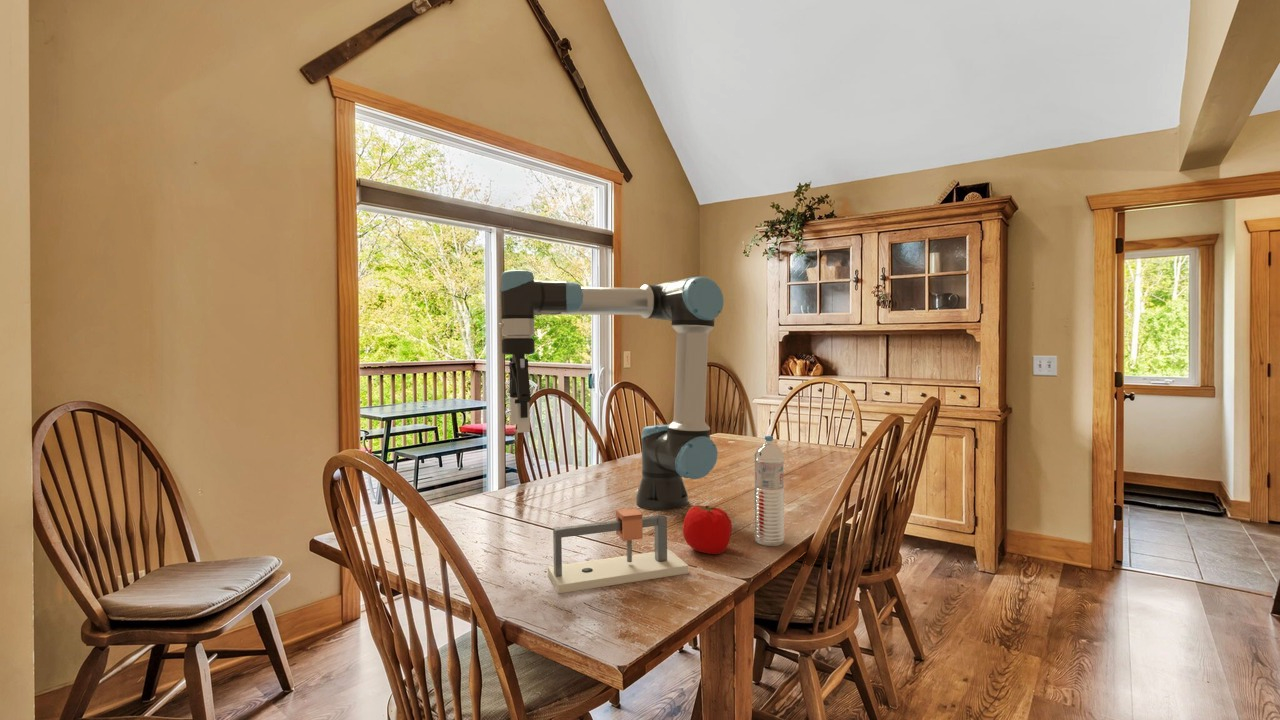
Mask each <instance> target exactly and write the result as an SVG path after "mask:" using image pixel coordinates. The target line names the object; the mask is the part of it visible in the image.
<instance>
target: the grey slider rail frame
mask: <svg viewBox="0 0 1280 720" xmlns="http://www.w3.org/2000/svg"><path fill="white" fill-rule="evenodd" d="M649 527H654V552H655V559H656V560H657V561H658V562H661V561H667V550H668V517H667V516H665V515H664V514H659V515H658V514H657V515H656V514H655V515H651V516H642V529H644V528H649ZM552 529H553V530H552V537H553V540H552V541H553V542H552V543H553V548H552V549H553V566H554V575H555V576H556V577H560V576H562V565H563V559H562V558H563V553H562V551H563V550H562V547H563V546H562V538H569V537H576V536H577V537H578V536H585V535H586V536H587V535H594V534H601V533H603V534H604V533H608V532H610V533H611V532H616V531H619V530H622V520H616V519H615V520H610V521H602V522H601V521H600V522H591V523H584V524H575V525H566V526H565V525H564V526H555V527H552Z"/></svg>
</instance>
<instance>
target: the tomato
mask: <svg viewBox="0 0 1280 720" xmlns="http://www.w3.org/2000/svg"><path fill="white" fill-rule="evenodd" d="M732 526H733V525H732V520H731V519H730V517H729V515H728V514H727V512H725V511H724V510H723V509H722V508H719V505H717V506H714V507H711V506H710V505H694V506H692V507H690V508H689V510H688V511H687V512H686V515H685V516H684V519H683V527H682V534H683V539H684V540H685V543H687V545H689V547H690V548H692V549H693V550H695V551H697V552H700V553H705V554H708V555H719V554H721V553H723V552H725V550H726V549H727V547H729V544H730V540H731V534H732V529H733V527H732Z"/></svg>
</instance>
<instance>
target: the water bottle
mask: <svg viewBox="0 0 1280 720" xmlns="http://www.w3.org/2000/svg"><path fill="white" fill-rule="evenodd" d="M764 441H765V442H764V443H763V444H761V445H760V446H759V447H758V448H757V449H756V451H755V452H754V455H753V459H754V501H753V502H754V541H755V543H757V544H758V545H761V546H763V547H778V546H781V545H783V544H784V540H785V488H784V486H785V485H784V481H785V480H784V479H785V478H784V472H785V471H784V461H785V454H784V453H783V451H782V450H781V448H780V447H779V446H778V445H777V444H775V443H774V436H772V435H765V437H764Z"/></svg>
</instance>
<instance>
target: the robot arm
mask: <svg viewBox="0 0 1280 720" xmlns="http://www.w3.org/2000/svg"><path fill="white" fill-rule="evenodd" d="M499 292H500V307H501V308H500V312H501V322H499V324H498V327H499V328H501V336H503V337H504V338H502V339H501V353H502V355H508V356H509V355H511V356H512V357H509V363H508V367H509V390H508V394H509V397H510V399H509V400H510V403H509V404H510V405H509V406H510V407H509V408H510V425H514V426H515V425H516V427H517V429H516V431H517V434H518V433H519V434H520V433H521V434H522V433H530V432H531V420H530V418H531V413H530V411H531V409H530V407H531V406H530V402H531V401H532V397H531V389H530V387H531V386H530V385H531V384H530V374H529V359H528V358H526V355H533V354H535V352H536V351H535V348H536V347H535V346H536V345H535V343H536V342H535V339H534V338H533V337H534V336H535V335H536V333H535V329H536V328H535V316H545V315H550V316H551V315H552V316H554V315H555V316H556V315H576V316H577V315H589V316H590V315H593V316H594V315H595V316H596V315H600V316H602V315H603V316H604V315H605V316H607V315H609V316H610V315H614V316H616V315H617V316H618V315H619V316H620V315H621V316H623V315H624V316H625V315H626V316H628V315H630V316H631V315H632V316H636V315H637V316H638V315H639V316H640V317H641V318H642V319H651V320H652V319H654V320H664V321H670V322H671V328H672V329H673V330H674V331H675V333H676V348H675V349H676V350H675V371H674V373H675V374H674V394H673V395H674V397H673V398H674V399H673V401H674V402H673V420H672V422H670V423H669V424H656V425H648V426H647V425H646V426H644V427H643V428H642V430H641V436H640V437H641V438H640V441H641V480H640V482H639V486H638V490H637V492H636V496H635V497H636V499H635V501H636V505H637V506H639V507H640V508H642V509H643V508H644V509H648V510H655V511H659V510H661V511H663V510H664V511H666V510H668V511H669V510H676V509H681V508H684V507H686V506H687V505H688V504H689V496H688V491H687V489H686V486H685V483H684V480H683V478H685V479H691V480H699V479H702V478H705V477H706V476H708V475H709V473H710V472H711V471H713V469H714V468H715V467H716V464H717V461H718V455H719V454H718V448H717V444H715V443H714V442H715V441H713V440H712V439H711V427H710V426H709V425H708V423H706V407H707V406H706V402H707V401H706V399H707V377H708V376H707V375H708V355H709V354H708V352H709V350H708V348H709V334H710V332H712V331H713V329H715V319H716V318H717V317H718V316H719V315H720V314H721V313H722V311H723V308H724V303H725V301H724V294H723V291H722V290H721V287H720V286H719V285H718V284H717V283H716V281H714V280H713V279H711V278H709V277H707V276H691V277H690V276H689V277H687V278H682V279H677V280H676V279H675V280H672V281H667V282H666V281H665V282H662V283H656V284H643V285H641V286H640V287H609V286H608V287H605V286H600V287H599V286H581V284H580V283H579V282H575V281H568V280H566V281H562V280H561V281H560V280H540V279H539V280H537V279H535V278H534V273H533V272H532V271H530V270H525V269H524V270H523V269H513V270H512V269H511V270H505V271H503V272H502V273H501V275H500V290H499Z"/></svg>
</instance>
